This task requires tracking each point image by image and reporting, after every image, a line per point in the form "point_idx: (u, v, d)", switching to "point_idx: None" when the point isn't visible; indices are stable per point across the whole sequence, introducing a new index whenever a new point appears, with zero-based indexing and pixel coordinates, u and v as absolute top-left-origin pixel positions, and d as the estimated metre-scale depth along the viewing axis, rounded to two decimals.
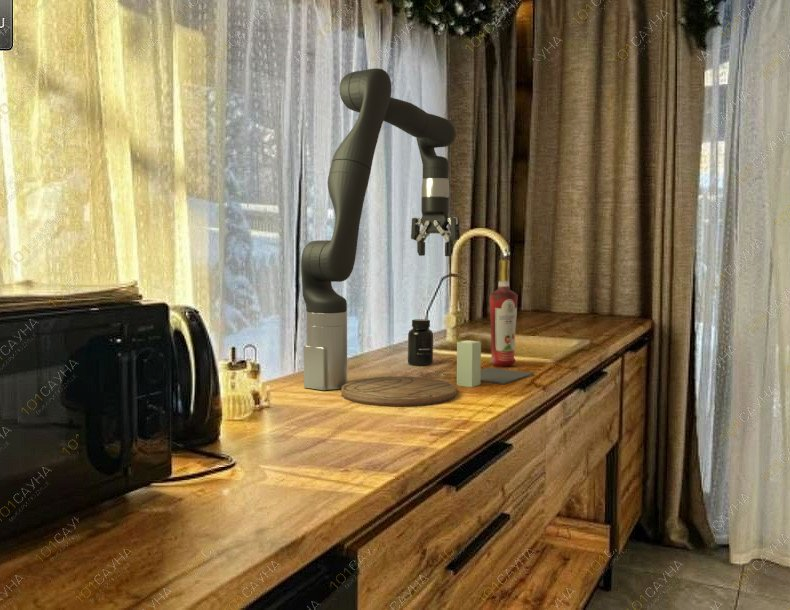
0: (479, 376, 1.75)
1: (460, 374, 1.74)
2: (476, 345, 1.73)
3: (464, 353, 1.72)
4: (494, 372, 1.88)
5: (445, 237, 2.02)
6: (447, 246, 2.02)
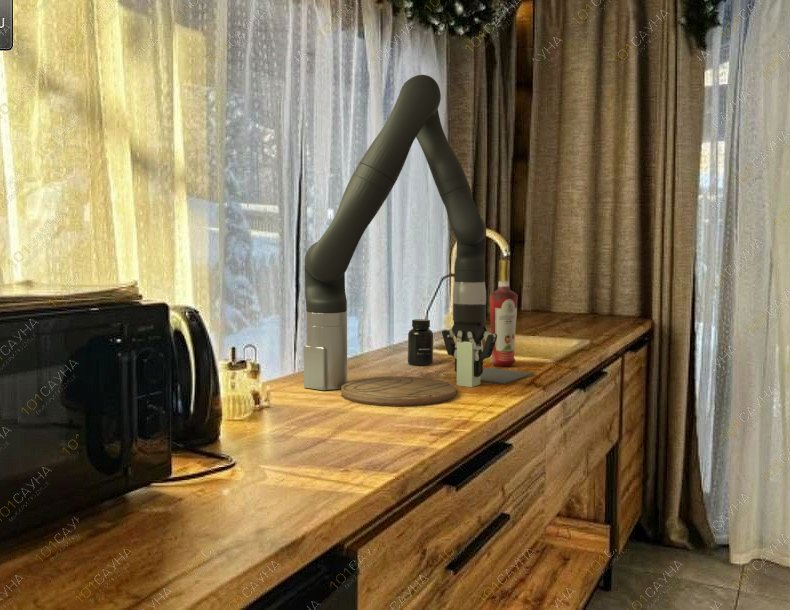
0: (479, 376, 1.75)
1: (460, 374, 1.74)
2: (476, 345, 1.73)
3: (464, 353, 1.72)
4: (494, 372, 1.88)
5: (475, 354, 1.72)
6: (476, 365, 1.72)
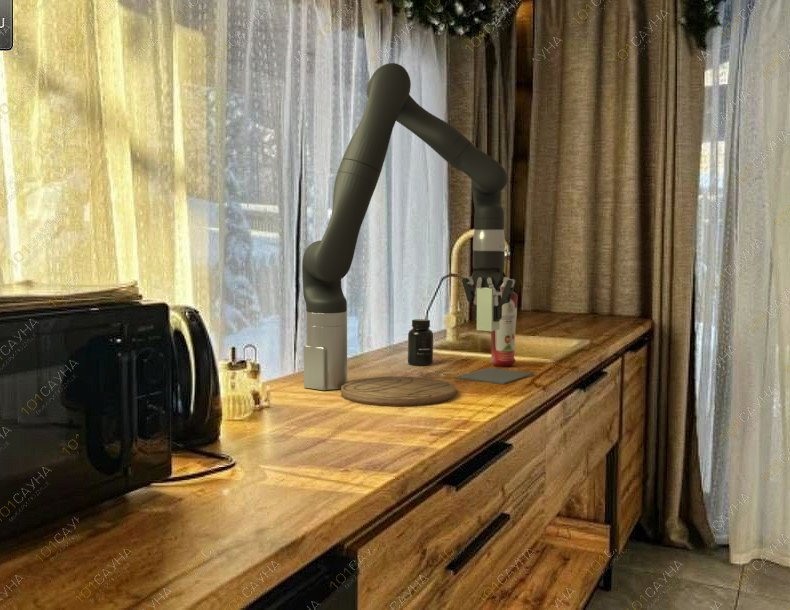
0: (498, 321, 1.81)
1: (480, 319, 1.80)
2: None
3: (484, 299, 1.79)
4: (494, 372, 1.88)
5: (494, 300, 1.78)
6: (496, 310, 1.78)
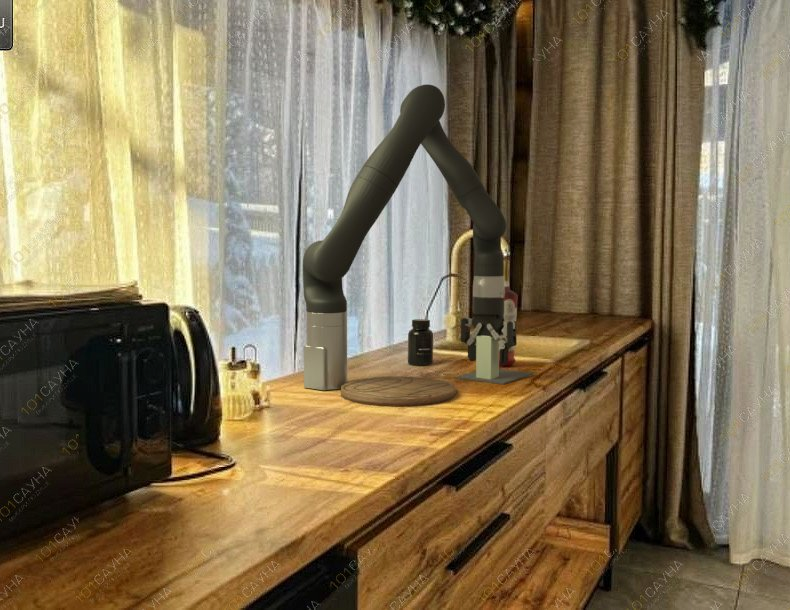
0: (497, 369, 1.82)
1: (479, 367, 1.81)
2: None
3: (484, 347, 1.80)
4: None
5: (500, 343, 1.78)
6: (502, 353, 1.78)
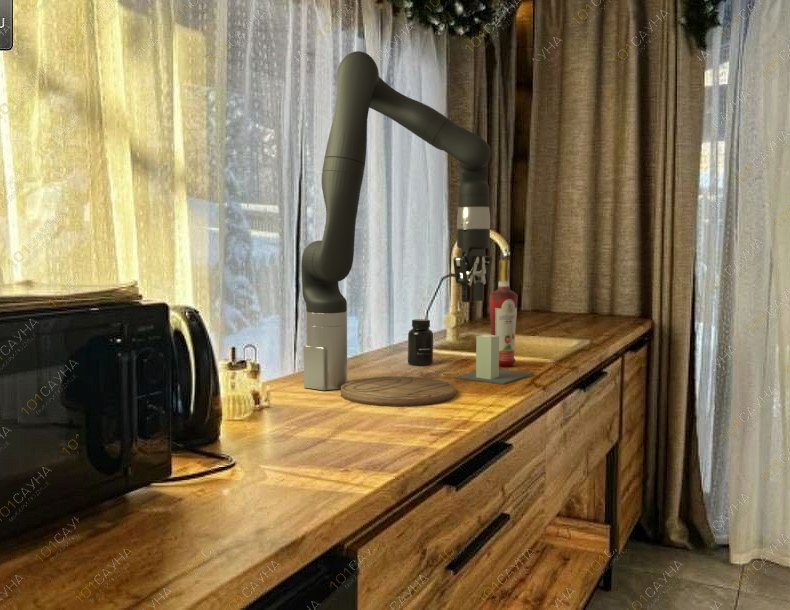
0: (497, 369, 1.82)
1: (479, 367, 1.81)
2: (495, 339, 1.80)
3: (484, 347, 1.80)
4: None
5: None
6: None
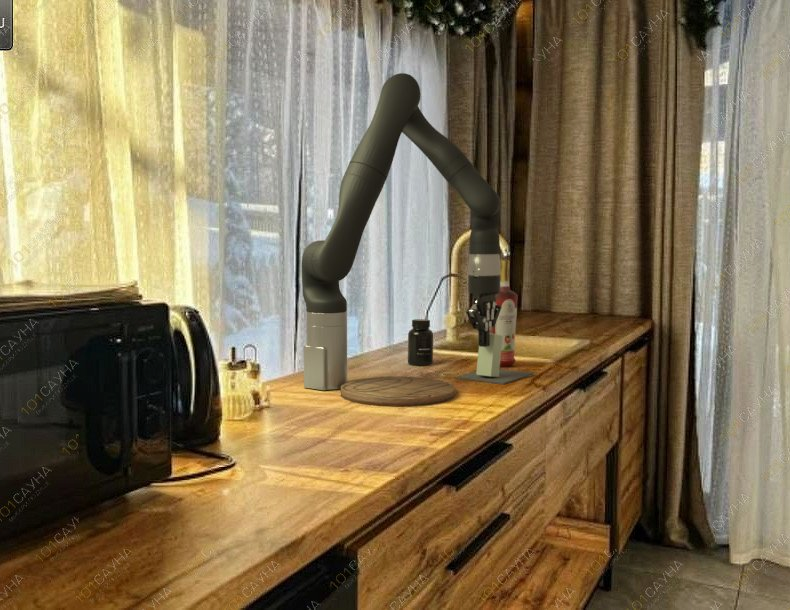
0: (498, 368, 1.82)
1: (480, 364, 1.81)
2: (498, 337, 1.81)
3: None
4: None
5: None
6: None
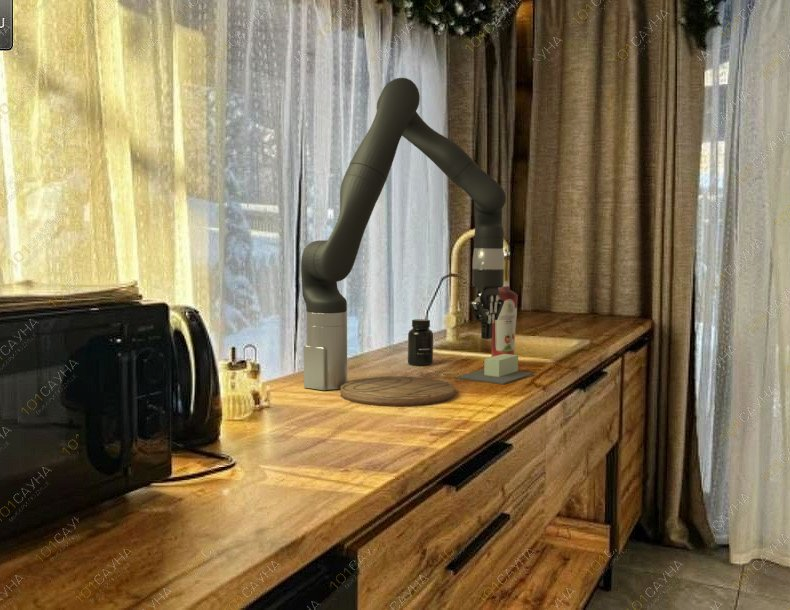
0: (502, 373, 1.84)
1: (493, 357, 1.86)
2: (516, 363, 1.90)
3: (506, 355, 1.89)
4: None
5: None
6: None
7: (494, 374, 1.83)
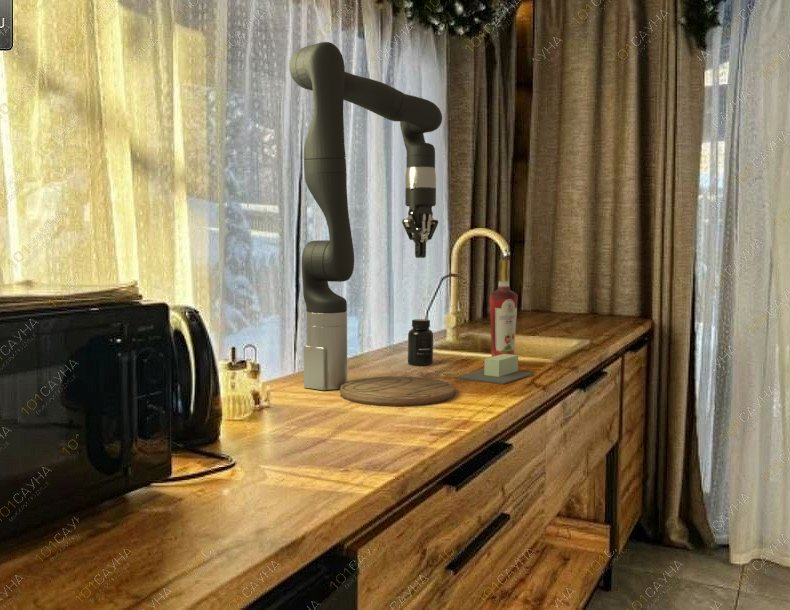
0: (502, 373, 1.84)
1: (493, 357, 1.86)
2: (516, 363, 1.90)
3: (506, 355, 1.89)
4: None
5: None
6: None
7: (494, 374, 1.83)
